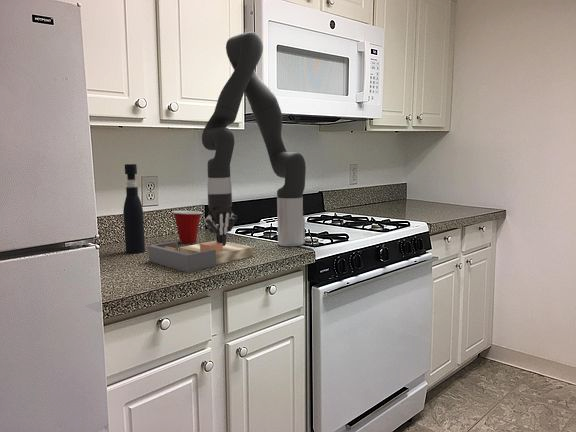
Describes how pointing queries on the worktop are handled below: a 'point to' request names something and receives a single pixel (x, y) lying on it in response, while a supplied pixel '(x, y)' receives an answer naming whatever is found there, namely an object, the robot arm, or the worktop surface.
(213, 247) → the terracotta tile
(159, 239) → the worktop surface
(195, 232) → the plastic cup
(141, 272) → the worktop surface
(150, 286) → the worktop surface
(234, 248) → the birch board
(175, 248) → the terracotta tile
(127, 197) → the wine bottle
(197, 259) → the box
